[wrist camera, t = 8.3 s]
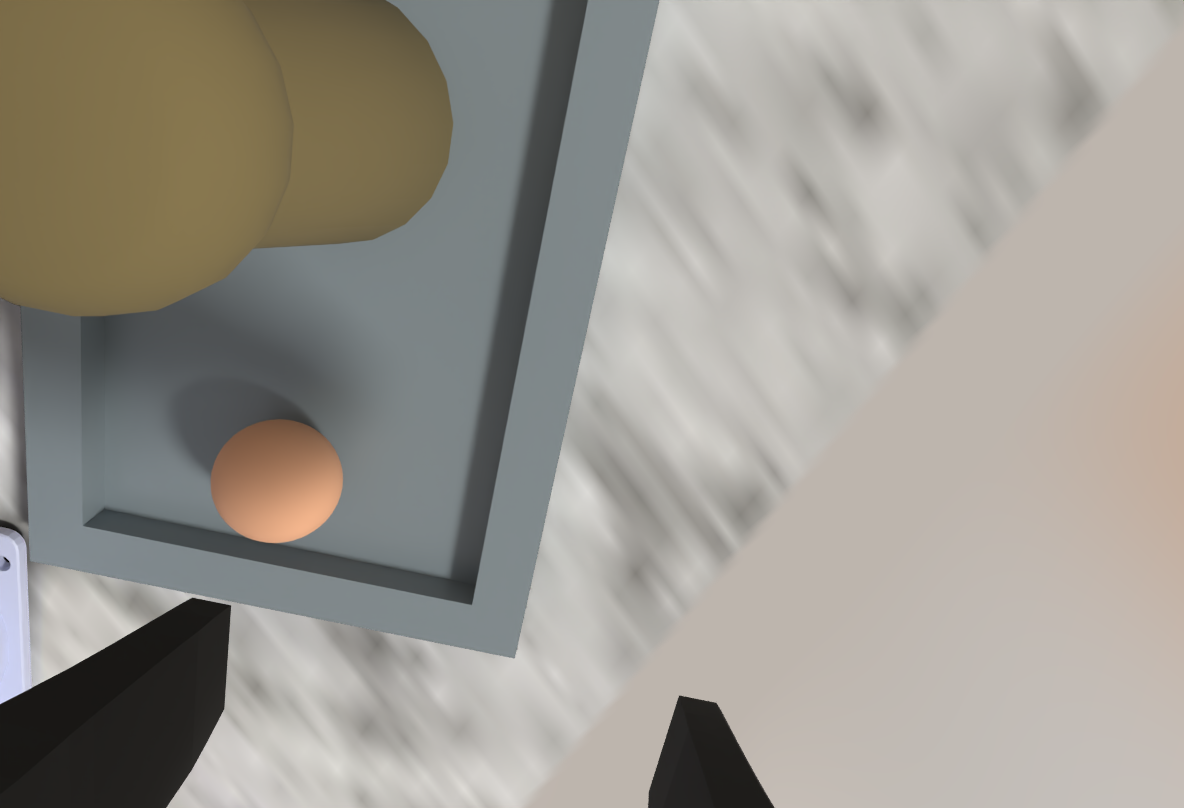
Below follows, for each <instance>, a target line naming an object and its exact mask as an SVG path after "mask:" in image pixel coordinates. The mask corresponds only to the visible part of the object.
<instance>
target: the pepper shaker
mask: <svg viewBox="0 0 1184 808" xmlns="http://www.w3.org/2000/svg"><path fill="white" fill-rule="evenodd" d="M452 130H453V118H452V111H451V105H450V99H449V93H448V87H447V81H446V79H445V76H444V74H443V72H442V70H441V68H440V66H439V64H438V62H437V60H436V58H435V55H434V53H433V51H432V49H431V47H430V45H429V43H428V41H427V40H426V39H425V37H424V36H423V35H422V34H421V33H420V32H419V31H418V30H417V28H416V27H415V26H414V25H413V24H412V23H411V22H410V21H409V20H408V18H407V17H406V16H405V15H404V14H403V13H402V12H401V11H400V9H399V8H398V7H396V6H394V5H393V4H391V3H389V2H388V1H386V0H0V297H1V298H3V299H5V300H7V301H9V302H11V303H13V304H15V305H20V306H25V307H30V308H35V309H40V310H45V311H50V312H55V313H60V314H64V315H69V316H109V315H119V314H128V313H137V312H147V311H156V310H159V309H161V308H164V307H166V306H168V305H170V304H173V303H175V302H177V301H179V300H181V299H183V298H186V297H188V296H190V295H192V294H194V293H196V292H198V291H200V290H202V289H204V288H206V287H208V286H210V285H212V284H214V283H216V282H218V281H220V280H222V279H224V278H226V277H227V276H228V275H229V274H230V273H231V272H232V271H233V270H234V269H235V268H236V267H237V265H238V264H239V263H240V262H241V261H242V260H243V259H244V258H245V257H246V256H247V255H248V254H249V253H250V251H251V250H252V249H257V248H275V247H292V246H310V245H328V244H341V243H350V242H359V241H368V240H374V239H376V238H378V237H380V236H382V235H384V234H386V233H388V232H390V231H392V230H395V229H397V228H399V227H401V226H403V225H405V224H406V223H407V222H408V221H409V220H410V219H411V218H412V217H413V216H414V215H415V214H416V213H417V212H418V211H419V210H420V209H421V208H422V207H423V206H424V205H425V204H426V203H427V202H428V201H429V200H430V199H431V198H432V196H433V194H434V191H435V189H436V187H437V185H438V183H439V181H440V179H441V177H442V175H443V173H444V171H445V169H446V166H447V164H448V159H449V152H450V145H451V137H452Z"/></svg>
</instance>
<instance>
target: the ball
mask: <svg viewBox="0 0 1184 808" xmlns="http://www.w3.org/2000/svg"><path fill="white" fill-rule="evenodd" d="M342 487H343V472H342V466H341V462H340V460H339V457H338V455H337V453H336V451H335V449H334V447H333V446H332V445H331V443H330V442H329V441H328V440H327V439H326V438H325V437H324V436H323V435H322V434H321V433H320V432H318V431H317V430H315V429H314V428H312V427H310V426H308V425H305V424H303V423H300V422H296V421H292V420H285V419H275V420H266V421H262V422H258V423H255V424H253V425H250V426H248V427H246V428H244V429H242V430H241V431H239V432H238V433H236V434H235V435H234V436H233V437H232V438H231V439H230V440H229V441H228V442H227V443H226V444H225V445H224V446H223V448H222V449H221V450H220V452H219V454H218V455H217V458H216V460H215V462H214V465H213V469H212V472H211V494H212V498H213V502H214V504H215V507H216V509H217V511H218V513H219V514H220V516H221V517H222V518H223V520H224V521H225V522H226V523H227V524H228V525H229V526H230V527H231V528H232V529H234V530H235V531H236V532H238V533H239V534H241V535H243V536H245V537H247V538H250V539H252V540H256V541H260V542H266V543H283V542H289V541H293V540H296V539H299V538H302V537H304V536H306V535H308V534H310V533H312V532H313V531H315V530H316V529H317V528H319V527H320V526H321V525H322V524H323V523H324V522H325V521H326V520H327V519H328V518H329V517H330V515H331V514H332V513H333V511H334V509H335V507H336V506H337V504H338V501H339V499H340V496H341V492H342Z"/></svg>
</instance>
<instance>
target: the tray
mask: <svg viewBox="0 0 1184 808" xmlns="http://www.w3.org/2000/svg"><path fill="white" fill-rule="evenodd" d="M386 1H388V2H389V3H391V4H393V5H394V6H396V7H398V8H399V9H400V11H401V12H402V13H403V14H404V15H405V16H406V17H407V18H408V20H409V21H410V22H411V23H412V24H413V25H414V26H415V27H416V28H417V30H418V31H419V32H420V33H421V34H422V35H423V36H424V37H425V39H426V40H427V41H428V43H429V45H430V47H431V49H432V51H433V53H434V55H435V58H436V60H437V62H438V64H439V66H440V68H441V70H442V72H443V74H444V76H445V79H446V81H447V87H448V93H449V99H450V105H451V111H452V118H453V130H452V137H451V145H450V152H449V159H448V164H447V166H446V169H445V171H444V173H443V175H442V177H441V179H440V181H439V183H438V185H437V187H436V189H435V191H434V194H433V196H432V198H431V199H430V200H429V201H428V202H427V203H426V204H425V205H424V206H423V207H422V208H421V209H420V210H419V211H418V212H417V213H416V214H415V215H414V216H413V217H412V218H411V219H410V220H409V221H408V222H407V223H406V224H405V225H403V226H401V227H399V228H397V229H395V230H392V231H390V232H388V233H386V234H384V235H382V236H380V237H378V238H376V239H374V240H368V241H359V242H350V243H341V244H328V245H310V246H292V247H275V248H257V249H252V250H251V251H250V253H249V254H248V255H247V256H246V257H245V258H244V259H243V260H242V261H241V262H240V263H239V264H238V265H237V267H236V268H235V269H234V270H233V271H232V272H231V273H230V274H229V275H228V276H227V277H226V278H224V279H222V280H220V281H218V282H216V283H214V284H212V285H210V286H208V287H206V288H204V289H202V290H200V291H198V292H196V293H194V294H192V295H190V296H188V297H186V298H183V299H181V300H179V301H177V302H175V303H173V304H170V305H168V306H166V307H164V308H161V309H159V310H156V311H147V312H137V313H128V314H119V315H109V316H69V315H64V314H60V313H55V312H50V311H45V310H40V309H35V308H30V307H25V306H21V331H22V358H23V385H24V412H25V440H26V467H27V494H28V521H29V548H30V561H33V562H38V563H43V564H48V565H53V566H58V567H63V568H68V569H73V570H78V571H82V572H87V573H92V574H97V575H102V576H107V577H112V578H117V579H122V580H127V581H132V582H137V583H142V584H147V585H152V586H157V587H162V588H167V589H172V590H177V591H182V592H187V593H192V594H197V595H202V596H207V597H212V598H217V599H222V600H227V601H232V602H237V603H242V604H247V605H252V606H257V607H261V608H266V609H271V610H276V611H281V612H286V613H291V614H296V615H301V616H306V617H311V618H316V619H321V620H326V621H331V622H336V623H341V624H346V625H351V626H356V627H361V628H366V629H371V630H376V631H381V632H386V633H391V634H396V635H401V636H406V637H411V638H416V639H421V640H426V641H431V642H436V643H441V644H445V645H450V646H455V647H460V648H465V649H470V650H475V651H480V652H485V653H490V654H495V655H500V656H505V657H510V658H515V654H516V650H517V645H518V641H519V636H520V632H521V627H522V623H523V618H524V614H525V609H526V604H527V600H528V595H529V591H530V586H531V582H532V577H533V573H534V568H535V563H536V559H537V554H538V550H539V545H540V541H541V536H542V532H543V527H544V523H545V518H546V513H547V509H548V504H549V500H550V495H551V491H552V486H553V482H554V477H555V473H556V468H557V463H558V459H559V454H560V450H561V445H562V441H563V436H564V432H565V427H566V423H567V418H568V413H569V409H570V404H571V400H572V395H573V391H574V386H575V382H576V377H577V372H578V368H579V363H580V359H581V354H582V350H583V345H584V341H585V336H586V332H587V327H588V322H589V318H590V313H591V309H592V304H593V300H594V295H595V291H596V286H597V282H598V277H599V272H600V268H601V263H602V259H603V254H604V250H605V245H606V241H607V236H608V231H609V227H610V222H611V218H612V213H613V209H614V204H615V200H616V195H617V191H618V186H619V181H620V177H621V172H622V168H623V163H624V159H625V154H626V150H627V145H628V141H629V136H630V131H631V127H632V122H633V118H634V113H635V109H636V104H637V100H638V95H639V91H640V86H641V81H642V77H643V72H644V68H645V63H646V59H647V54H648V50H649V45H650V40H651V36H652V31H653V27H654V22H655V18H656V13H657V9H658V4H659V0H386ZM275 419H285V420H292V421H296V422H300V423H303V424H305V425H308V426H310V427H312V428H314V429H315V430H317V431H318V432H320V433H321V434H322V435H323V436H324V437H325V438H326V439H327V440H328V441H329V442H330V443H331V445H332V446H333V447H334V449H335V451H336V453H337V455H338V457H339V460H340V462H341V466H342V472H343V487H342V492H341V496H340V499H339V501H338V504H337V506H336V507H335V509H334V511H333V513H332V514H331V515H330V517H329V518H328V519H327V520H326V521H325V522H324V523H323V524H322V525H321V526H320V527H319V528H317V529H316V530H315V531H313V532H312V533H310V534H308V535H306V536H304V537H302V538H299V539H296V540H293V541H289V542H283V543H266V542H260V541H256V540H252V539H250V538H247V537H245V536H243V535H241V534H239V533H238V532H236V531H235V530H234V529H232V528H231V527H230V526H229V525H228V524H227V523H226V522H225V521H224V520H223V518H222V517H221V516H220V514H219V513H218V511H217V509H216V507H215V504H214V502H213V498H212V494H211V472H212V469H213V465H214V462H215V460H216V458H217V455H218V454H219V452H220V450H221V449H222V448H223V446H224V445H225V444H226V443H227V442H228V441H229V440H230V439H231V438H232V437H233V436H234V435H235V434H236V433H238V432H239V431H241V430H242V429H244V428H246V427H248V426H250V425H253V424H255V423H258V422H262V421H266V420H275Z"/></svg>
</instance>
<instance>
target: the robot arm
mask: <svg viewBox="0 0 1184 808" xmlns="http://www.w3.org/2000/svg"><path fill="white" fill-rule="evenodd" d="M3 557H6V558H7V559H8V560H9V562H10V563H8V562H7V561H6V560H5V559H4V558H3ZM230 614H231V605H226V604H221V603H216V602H211V601H206V600H201V599H196V598H191V599H189V600H187V601H186V602H184V603H182V604H180V605H178V606H177V607H175V608H173V609H172V610H170V611H168V612H166V613H165V614H163V615H161V616H160V617H158V618H156V619H154V620H153V621H151V622H149V623H148V624H146V625H144V626H142V627H141V628H139V629H137V630H136V631H134V632H132V633H130V634H129V635H127V636H125V637H124V638H122V639H120V640H118V641H117V642H115V643H113V644H112V645H110V646H108V647H106V648H105V649H103V650H101V651H99V652H97V653H96V654H94V655H92V656H90V657H89V658H87V659H85V660H83V661H81V662H80V663H78V664H76V665H74V666H73V667H71V668H69V669H67V670H65V671H63V672H62V673H60V674H58V675H56V676H54V677H52V678H50V679H48V680H46V681H44V682H42V683H40V684H38V685H36V686H34V687H32V683H31V657H30V631H29V605H28V578H27V552H26V543H25V540H24V539H23V537H22V536H21V535H20V534H19V533H17V532H16V531H14V530H11V529H8V528H3V527H0V808H166V807H167V806H168V804H169V803H170V801H171V800H172V798H173V797H174V795H175V794H176V792H177V791H178V790H179V788H180V787H181V785H182V784H183V782H184V781H185V779H186V778H187V776H188V775H189V773H190V772H191V770H192V768H193V767H194V765H195V763H196V761H197V759H198V758H199V756H200V754H201V752H202V750H203V748H204V747H205V745H206V743H207V741H208V739H209V737H210V735H211V733H212V731H213V729H214V728H215V726H216V724H217V722H218V720H219V718H220V716H221V714H222V712H223V710H224V704H225V689H226V674H227V659H228V644H229V629H230ZM648 808H774V806H773V804H772V803H771V801H770V799H769V798H768V796H767V795H766V793H765V791H764V789H763V788H762V786H761V784H760V782H759V780H758V779H757V777H756V775H755V773H754V772H753V770H752V768H751V766H750V764H749V763H748V761H747V759H746V757H745V755H744V753H743V751H742V750H741V748H740V746H739V744H738V742H737V740H736V738H735V736H734V734H733V733H732V731H731V729H730V727H729V725H728V723H727V721H726V719H725V717H724V715H723V714H722V712H721V710H720V708H719V707H718V705H717V703H714V702H709V701H704V700H699V699H694V698H689V697H683V696H679V698H678V701H677V704H676V707H675V710H674V714H673V717H672V720H671V723H670V726H669V729H668V733H667V736H666V739H665V742H664V745H663V749H662V752H661V755H660V758H659V761H658V765H657V768H656V771H655V774H654V777H653V780H652V784H651V787H650V790H649V803H648Z"/></svg>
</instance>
